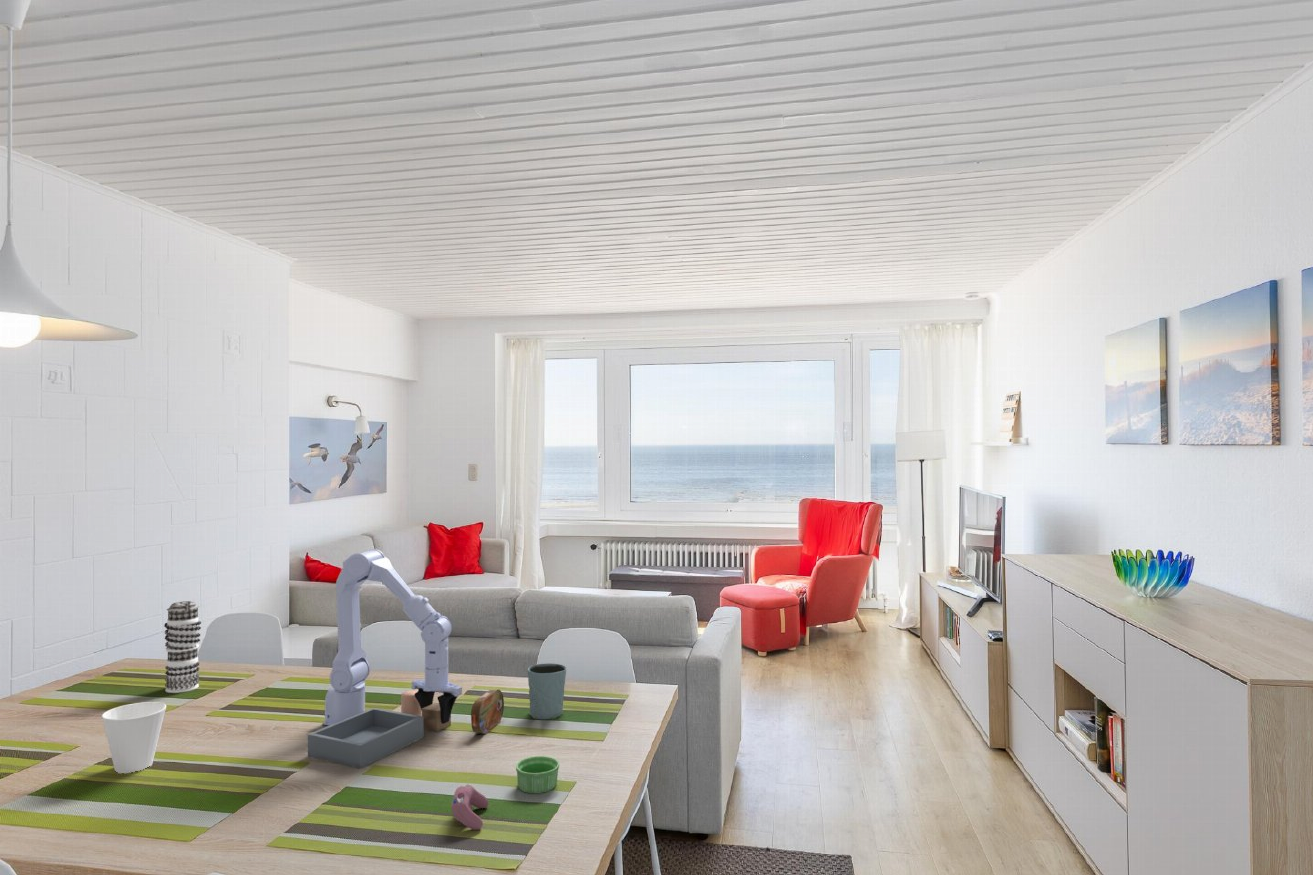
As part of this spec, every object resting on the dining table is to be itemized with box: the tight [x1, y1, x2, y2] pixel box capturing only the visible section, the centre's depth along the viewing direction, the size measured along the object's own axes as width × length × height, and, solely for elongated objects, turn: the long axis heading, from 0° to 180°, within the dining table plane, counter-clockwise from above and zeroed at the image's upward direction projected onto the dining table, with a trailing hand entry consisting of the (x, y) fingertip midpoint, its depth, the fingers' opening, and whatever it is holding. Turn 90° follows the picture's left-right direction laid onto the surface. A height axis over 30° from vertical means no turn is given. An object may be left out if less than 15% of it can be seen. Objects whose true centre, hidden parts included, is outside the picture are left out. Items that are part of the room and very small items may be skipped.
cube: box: [422, 702, 452, 733], centre depth 193 cm, size 5×5×5 cm
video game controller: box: [450, 783, 490, 831], centre depth 145 cm, size 10×5×7 cm, turn 5°
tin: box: [470, 689, 505, 735], centre depth 193 cm, size 15×3×8 cm, turn 168°
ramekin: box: [515, 755, 560, 794], centre depth 159 cm, size 9×9×4 cm
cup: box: [101, 701, 167, 774], centre depth 169 cm, size 12×12×12 cm
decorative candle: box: [163, 600, 202, 694], centre depth 225 cm, size 9×9×25 cm
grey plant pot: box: [527, 662, 567, 720], centre depth 203 cm, size 10×10×12 cm
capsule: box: [400, 689, 422, 716], centre depth 198 cm, size 5×5×7 cm
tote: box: [307, 707, 424, 769], centre depth 180 cm, size 16×20×5 cm
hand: (436, 720), depth 193 cm, fingers closed on cube, 5 cm apart
